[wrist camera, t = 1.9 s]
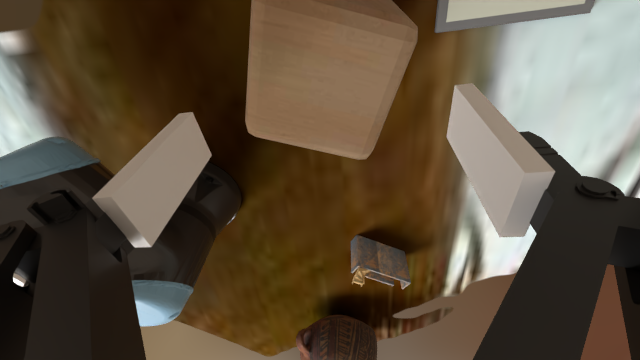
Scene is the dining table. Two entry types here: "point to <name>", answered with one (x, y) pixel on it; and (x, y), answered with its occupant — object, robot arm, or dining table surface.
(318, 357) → the vase
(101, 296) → the robot arm
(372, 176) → the dining table surface
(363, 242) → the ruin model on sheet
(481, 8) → the mat
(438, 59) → the dining table surface
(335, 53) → the wooden block
